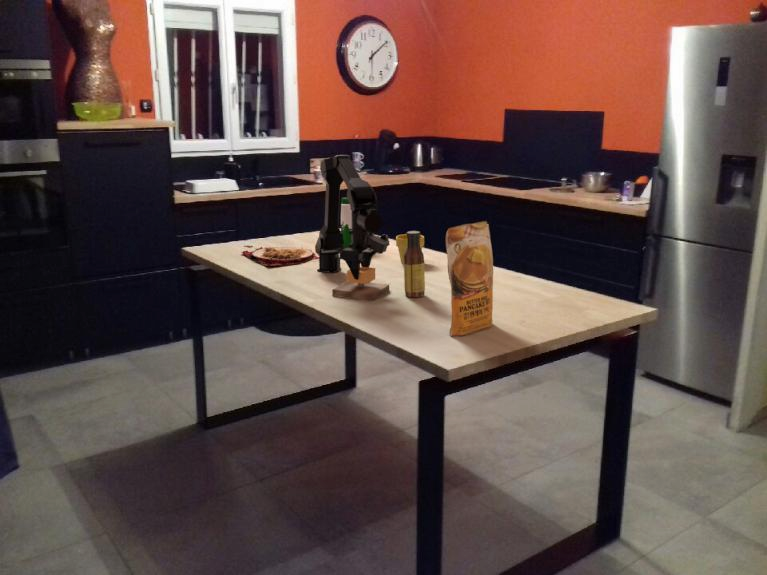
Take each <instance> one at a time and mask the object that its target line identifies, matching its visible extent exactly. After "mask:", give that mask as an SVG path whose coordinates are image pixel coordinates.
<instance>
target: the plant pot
mask: <svg viewBox="0 0 767 575" xmlns="http://www.w3.org/2000/svg"><path fill="white" fill-rule="evenodd" d="M407 244H408V240H407V233H405V234H399V235H396V237H395V247H397V249H398V254H399V258H400V263H401V264H403V265H404V253H405V251H406V249H407ZM423 247H425V236H424V235H422V234H420V248H421V250H422V249H423ZM422 251H423V250H422Z"/></svg>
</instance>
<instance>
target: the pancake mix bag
mask: <svg viewBox="0 0 767 575" xmlns="http://www.w3.org/2000/svg"><path fill="white" fill-rule="evenodd" d="M492 247H493V246H492V241H491V232H490V225H489V223H488V221H487V220H484V221H483V220H482V221H478V222H474V223H464V224H461V225H457V226H452V227H449V228H448V229H447V231H446V233H445V249H446V255H447V256H446V257H447V274H448V279H449V283H450V289H451V290H450V293H451V295H450V297H451V298H450V299H451V301H450V303H451V325H450V329H449V336H450V337H451V336H452V337H453V336H460V337H462V336H467V335H470V334H474V333H477V332H480V331H484V330H486V329H489V328H491V327H492V326H493V303H494V302H493V301H494V299H493V298H494V297H493V296H494V292H493V290H494V256H493V248H492Z"/></svg>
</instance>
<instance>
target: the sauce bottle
mask: <svg viewBox="0 0 767 575" xmlns="http://www.w3.org/2000/svg"><path fill="white" fill-rule="evenodd" d="M406 234H407V240H408V244H407V249H406V251H405V253H404V264H403V273H404V275H403V276H404V278H403V279H404V281H403V282H404V283H403V284H404V294H405V296H406V297H407V298H417V299H418V298H421V297H424V296H425V292H426V291H425V290H426V282H425V280H426V278H425V274H426V273H425V256H424V253H423V250H421V248H420V235H421V232H420V231H417V230H410V231H407V232H406Z"/></svg>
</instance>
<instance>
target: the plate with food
mask: <svg viewBox="0 0 767 575" xmlns="http://www.w3.org/2000/svg"><path fill="white" fill-rule="evenodd" d="M243 247H244V248H245V247H246V248H250V249H251V248H254V246H253V245H243ZM250 249H249V250H250ZM249 250H243V251H241V253H242V255H245V256H246V258H250V259H252V260H253V261H255V259H254V258H253V257H255V258H256V262H257V263H259V264H260V265H262V266H265V267H266V266H267V267H277V266H281V267H283V266H288V265H290V266H291V265H296V264H297V265H301V264H306V263H308V262H310V261H314V260H317V261H318V263H319V255H318V254H317V253H316V252H313V250H312V249H307V248H303V246H302V247H292V246H289V247H288V246H281V247H280V246H279V247H278V246H275V247H271V246H268V247H266V246H265V247H262V246H261V247H258V248H255V249H254V250H252V251H249ZM317 261H314V262H317Z"/></svg>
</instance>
